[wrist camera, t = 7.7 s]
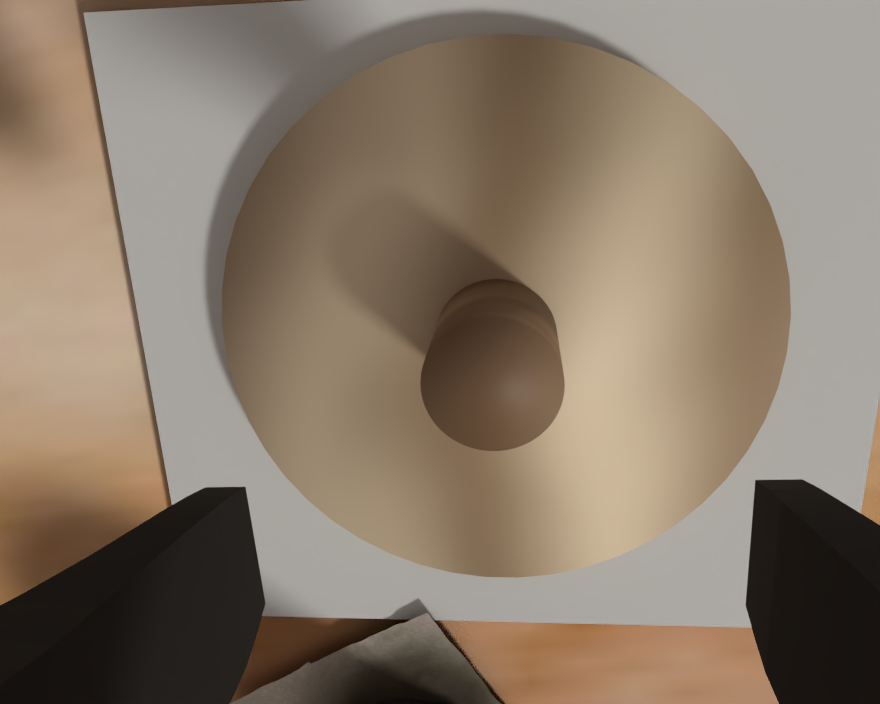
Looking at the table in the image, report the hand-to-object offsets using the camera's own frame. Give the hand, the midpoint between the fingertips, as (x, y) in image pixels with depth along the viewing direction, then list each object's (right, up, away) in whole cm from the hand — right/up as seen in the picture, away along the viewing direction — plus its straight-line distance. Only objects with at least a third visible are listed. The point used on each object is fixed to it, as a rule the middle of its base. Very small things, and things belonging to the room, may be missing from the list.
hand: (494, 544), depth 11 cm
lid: (+1, +3, +8) cm, 8 cm away
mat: (+1, +3, +8) cm, 9 cm away
